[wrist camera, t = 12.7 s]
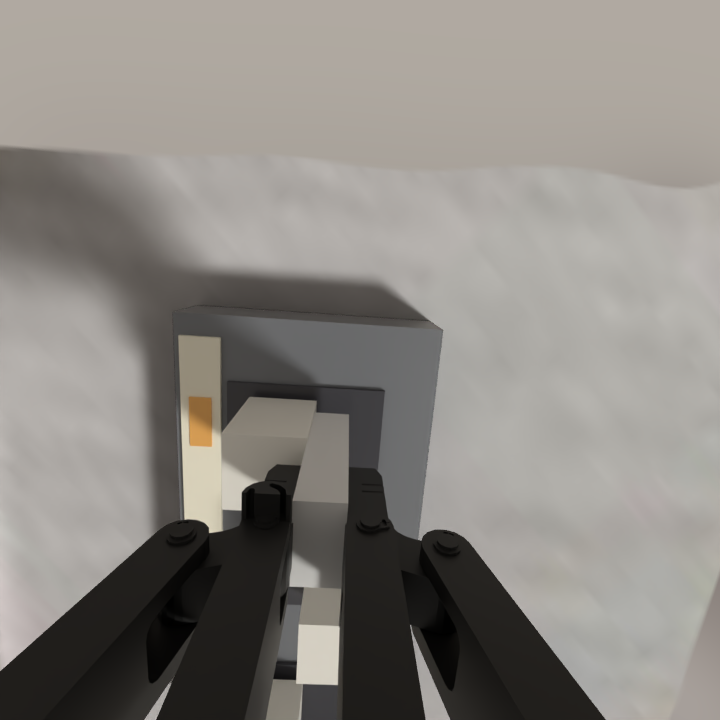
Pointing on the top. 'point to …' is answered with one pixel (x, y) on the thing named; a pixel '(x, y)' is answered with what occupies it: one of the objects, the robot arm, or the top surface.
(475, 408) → the top surface
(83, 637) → the robot arm
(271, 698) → the tab
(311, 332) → the switch bank
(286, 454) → the tab
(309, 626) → the tab
